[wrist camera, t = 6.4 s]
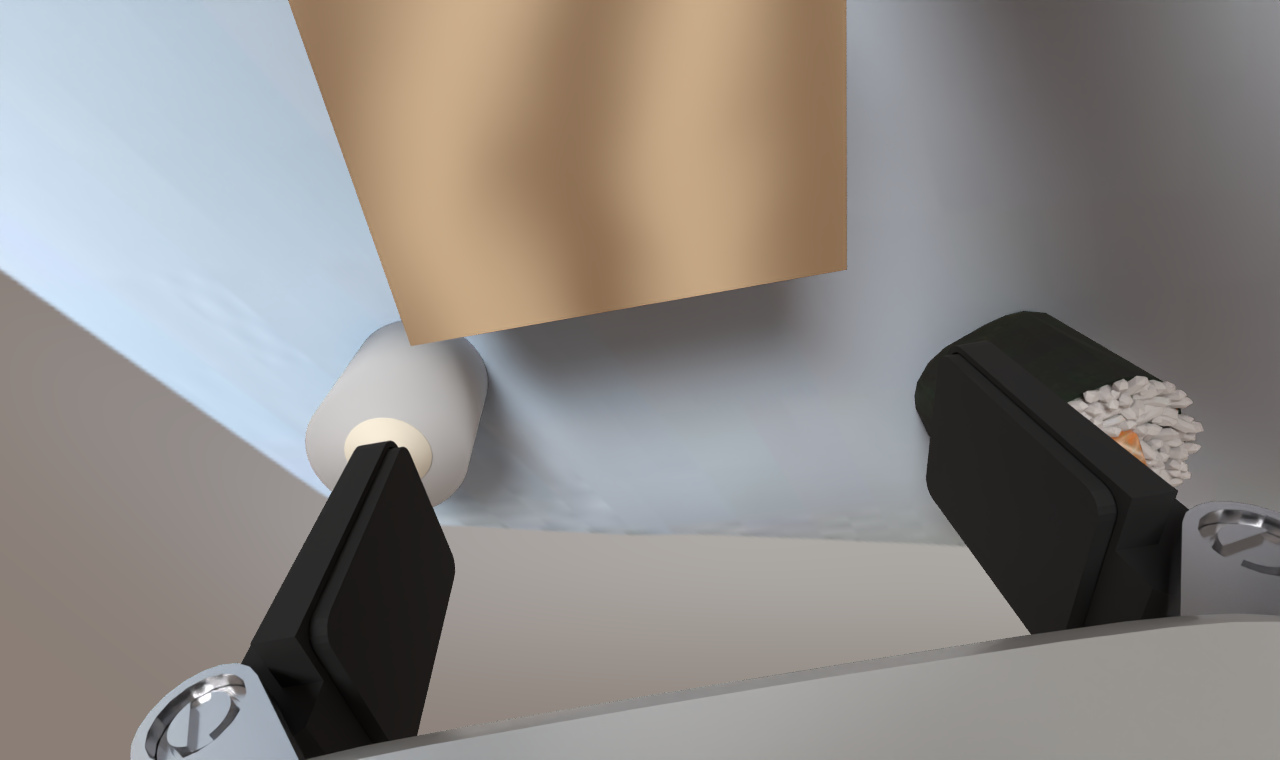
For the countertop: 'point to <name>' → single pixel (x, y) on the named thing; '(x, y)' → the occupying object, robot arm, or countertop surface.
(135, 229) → the countertop surface
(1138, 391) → the sushi
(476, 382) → the cream-capped white cylinder
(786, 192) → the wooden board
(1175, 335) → the countertop surface
